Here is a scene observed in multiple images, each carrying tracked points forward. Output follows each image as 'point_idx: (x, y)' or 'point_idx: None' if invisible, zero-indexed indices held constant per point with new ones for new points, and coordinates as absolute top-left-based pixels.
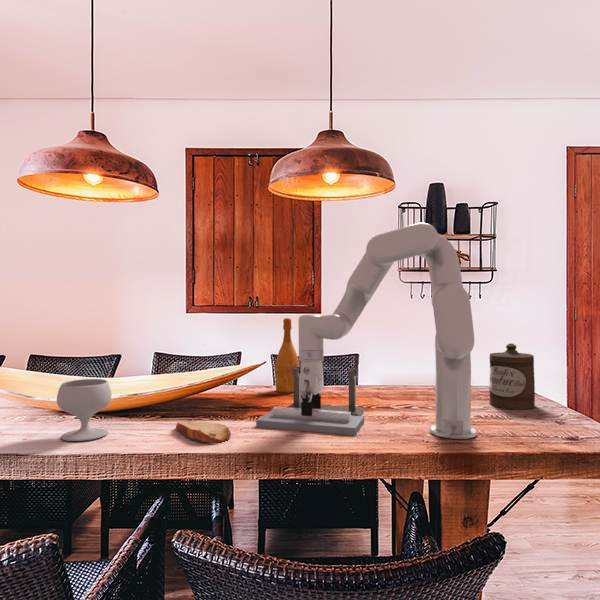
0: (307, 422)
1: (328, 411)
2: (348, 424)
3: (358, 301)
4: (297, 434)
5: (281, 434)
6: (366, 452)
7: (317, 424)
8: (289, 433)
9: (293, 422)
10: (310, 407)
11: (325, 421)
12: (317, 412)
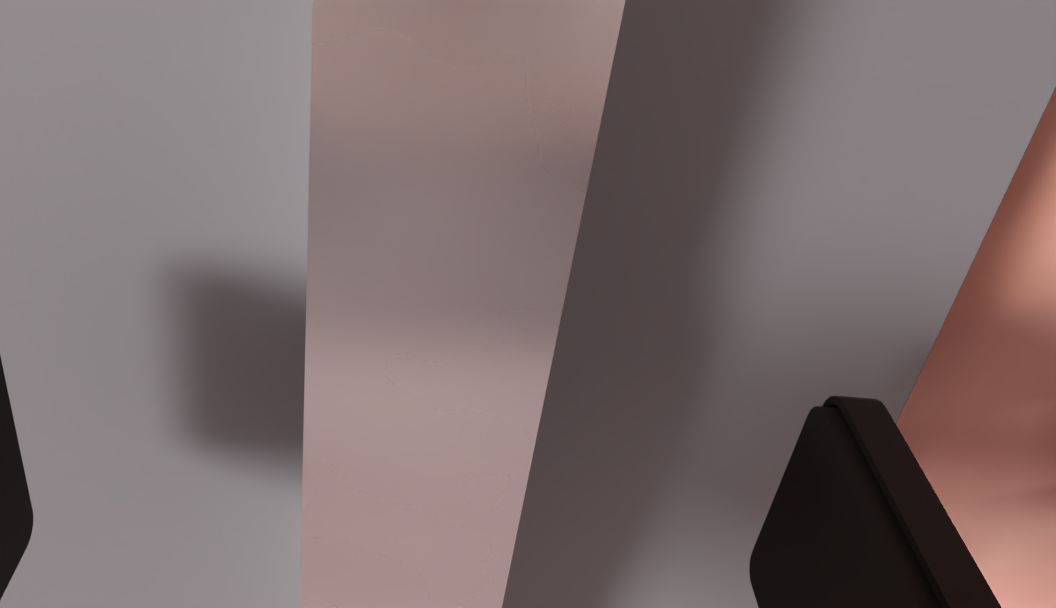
0: (786, 373)
1: (504, 24)
2: None
3: None
4: (1050, 381)
5: (1014, 554)
6: None
7: (972, 164)
8: (976, 483)
9: None
10: (959, 584)
11: (684, 13)
12: (558, 324)
